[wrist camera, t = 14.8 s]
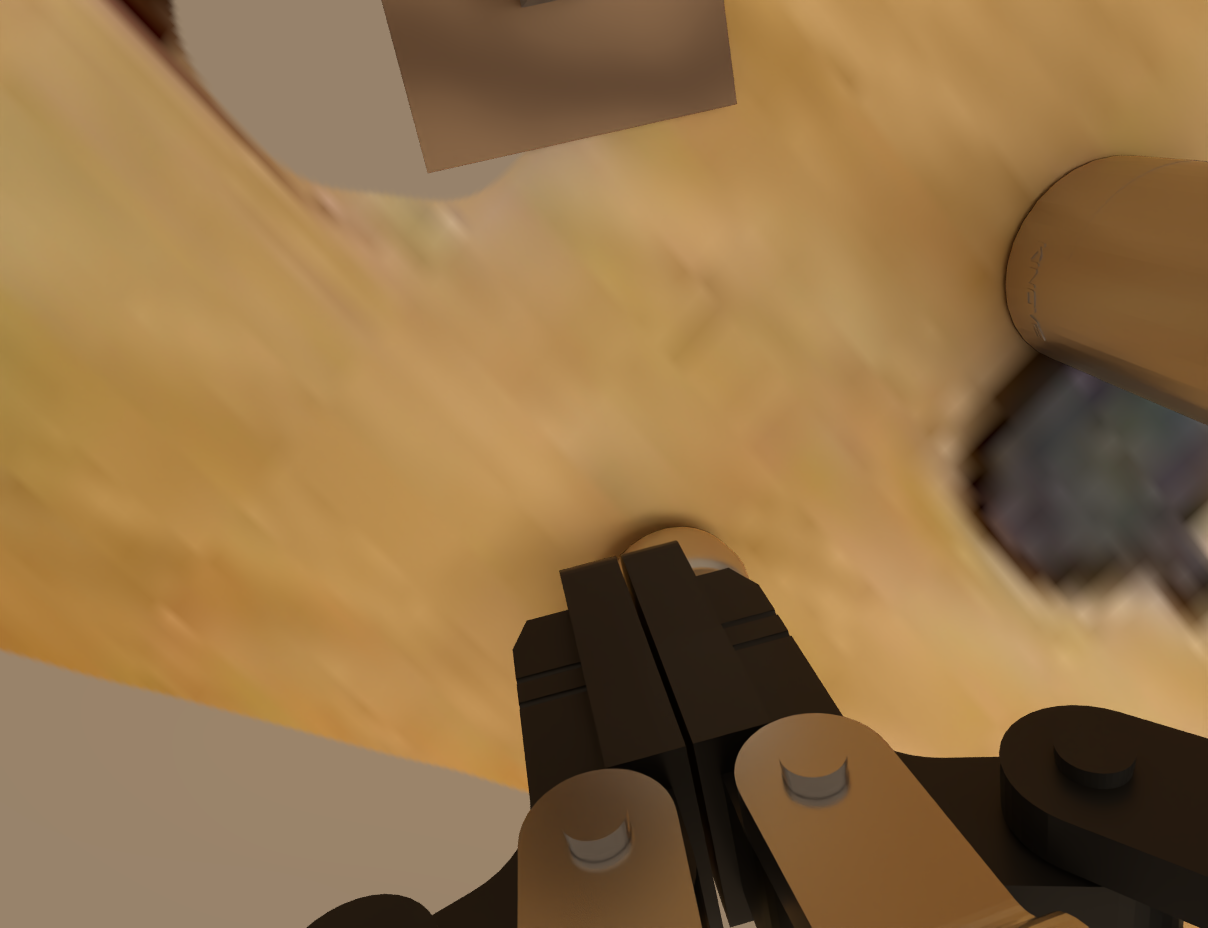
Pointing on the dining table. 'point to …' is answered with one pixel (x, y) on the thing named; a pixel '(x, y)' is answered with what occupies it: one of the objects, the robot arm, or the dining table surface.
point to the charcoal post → (533, 2)
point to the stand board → (553, 70)
